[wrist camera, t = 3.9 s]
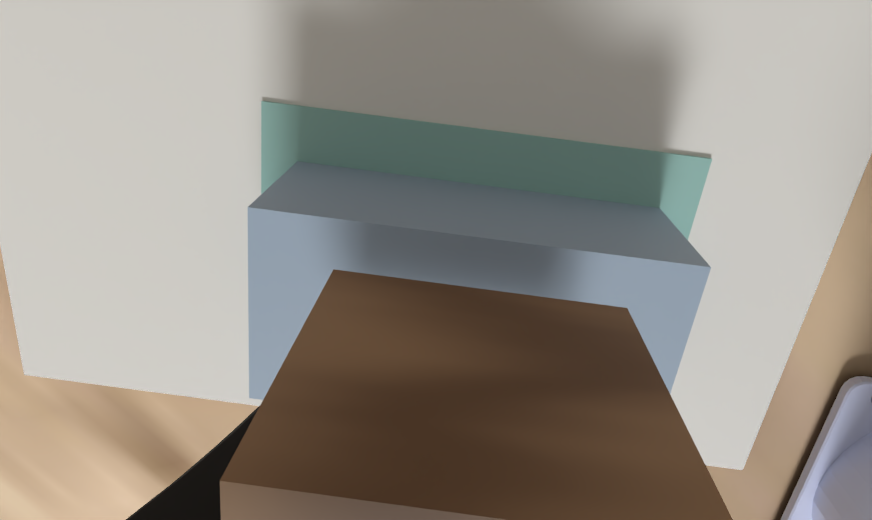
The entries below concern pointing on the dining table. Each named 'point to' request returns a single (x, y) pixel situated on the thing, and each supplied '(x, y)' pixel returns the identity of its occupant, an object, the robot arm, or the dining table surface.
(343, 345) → the walnut cube
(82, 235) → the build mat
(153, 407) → the dining table surface
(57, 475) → the dining table surface
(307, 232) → the base block
